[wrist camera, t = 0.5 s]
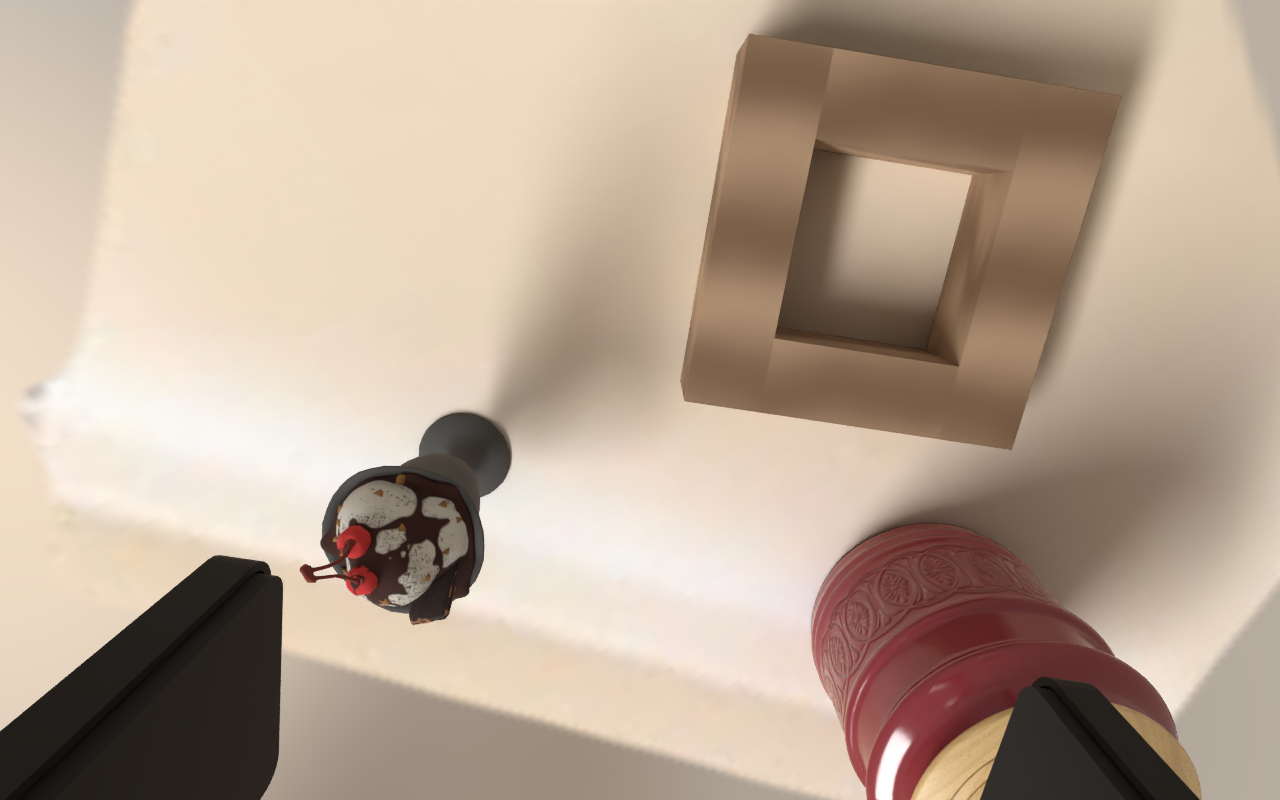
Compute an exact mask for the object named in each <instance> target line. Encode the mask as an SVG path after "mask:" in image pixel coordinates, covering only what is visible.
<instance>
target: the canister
mask: <svg viewBox="0 0 1280 800" xmlns="http://www.w3.org/2000/svg"><path fill="white" fill-rule="evenodd" d="M811 634H812V652H813V658H814V662H815V666H816V669H817V671H818V674H819V678H820V680H821V683H822V685H823V687H824V689H825V691H826V693H827V694H828V696H829V697H830V699H831V700H832V702H833V705H834V708H835V710H836V713H837V716H838V718H839V721H840V723H841V726H842V729H843V731H844V734H845V741H846V746H847V751H848V755H849V758H850V761H851V764H852V766H853V768H854V770H855V772H856V774H857V776H858V778H859V779H860V781H861V782H862V784H863V785H864V786H865V788H866V796H867V800H980V798H981V795H982V792H983V790H984V787H985V784H986V781H987V779H988V776H989V773H990V771H991V768H992V765H993V763H994V760H995V757H996V754H997V752H998V749H999V746H1000V744H1001V741H1002V738H1003V735H1004V733H1005V730H1006V727H1007V725H1008V722H1009V719H1010V716H1011V714H1012V711H1013V708H1014V706H1015V703H1016V700H1017V698H1018V695H1019V693H1020V692H1021V690H1022V689H1023V688H1025V687H1029V686H1032V684H1033V682H1034V681H1036V680H1037V679H1038V678H1041V677H1051V678H1057V679H1064V680H1071V681H1078V682H1085V683H1088V684H1091V685H1093V686H1094V687H1096V688H1097V689H1098V690H1099V691H1100V692H1101V693H1102V694H1103V695H1104V696H1105V697H1106V698H1107V699H1108V700H1109V702H1110V703H1111V704H1112V705H1113V706H1114V707H1115V708H1116V709H1117V710H1118V711H1119V712H1120V713H1121V715H1122V716H1123V717H1124V718H1125V719H1126V720H1127V721H1128V722H1129V723H1130V724H1131V725H1132V726H1133V728H1134V729H1135V730H1136V731H1137V732H1138V733H1139V734H1140V735H1141V736H1142V737H1143V738H1144V739H1145V741H1146V742H1147V743H1148V744H1149V745H1150V746H1151V747H1152V748H1153V749H1154V750H1155V751H1156V752H1157V754H1158V755H1159V756H1160V757H1161V758H1162V759H1163V760H1164V761H1165V762H1166V763H1167V764H1168V765H1169V767H1170V768H1171V769H1172V770H1173V771H1174V772H1175V773H1176V774H1177V775H1178V776H1179V777H1180V779H1181V780H1182V781H1183V782H1184V783H1185V784H1186V785H1187V786H1188V787H1189V788H1190V789H1191V790H1192V792H1193V793H1194V794H1195V795H1196V796H1197V797H1198V798H1199V799H1200V800H1201V789H1200V783H1199V779H1198V775H1197V772H1196V770H1195V767H1194V765H1193V763H1192V761H1191V759H1190V757H1189V756H1188V754H1187V752H1186V751H1185V750H1184V748H1183V747H1182V746H1181V744H1180V743H1179V742H1178V736H1177V731H1176V727H1175V724H1174V721H1173V718H1172V716H1171V713H1170V711H1169V709H1168V707H1167V705H1166V703H1165V702H1164V700H1163V699H1162V697H1161V695H1160V694H1159V693H1158V692H1157V690H1156V689H1155V688H1154V687H1153V685H1152V684H1151V683H1150V682H1149V681H1148V680H1147V679H1146V678H1145V677H1143V676H1142V675H1141V674H1140V673H1139V672H1138V671H1136V670H1135V669H1133V668H1132V667H1131V666H1129V665H1128V664H1126V663H1125V662H1123V661H1121V660H1120V659H1118V658H1116V657H1115V655H1114V654H1113V652H1112V650H1111V649H1110V647H1109V646H1108V645H1107V643H1106V642H1105V641H1104V639H1103V638H1102V637H1101V636H1100V635H1099V634H1098V633H1097V632H1096V631H1095V630H1094V629H1093V628H1092V627H1091V626H1090V625H1088V624H1087V623H1086V622H1084V621H1083V620H1082V619H1080V618H1079V617H1077V616H1076V615H1074V614H1072V613H1071V612H1069V611H1068V610H1067V609H1066V608H1065V607H1064V606H1062V605H1061V604H1060V603H1059V602H1058V601H1057V600H1056V599H1055V598H1054V597H1053V596H1052V595H1051V594H1050V593H1049V592H1048V591H1047V590H1046V589H1045V588H1044V587H1043V586H1042V585H1041V584H1040V582H1039V581H1038V579H1037V578H1036V576H1035V575H1034V574H1033V573H1032V571H1031V570H1030V569H1029V568H1028V567H1027V566H1026V565H1025V564H1024V563H1022V562H1021V561H1020V560H1019V559H1018V558H1017V557H1016V556H1015V555H1014V554H1012V553H1011V552H1010V551H1008V550H1007V549H1006V548H1004V547H1003V546H1001V545H999V544H998V543H996V542H994V541H992V540H990V539H988V538H985V537H984V536H982V535H980V534H978V533H975V532H973V531H970V530H968V529H965V528H961V527H957V526H953V525H947V524H937V523H924V524H913V525H907V526H902V527H898V528H894V529H891V530H888V531H885V532H883V533H880V534H878V535H876V536H874V537H872V538H870V539H868V540H866V541H865V542H863V543H861V544H860V545H858V546H857V547H856V548H854V549H853V550H852V551H850V552H849V553H848V554H847V555H846V556H845V557H843V558H842V559H841V560H840V561H839V562H838V564H837V565H836V566H835V567H834V568H833V569H832V571H831V572H830V573H829V575H828V576H827V578H826V579H825V581H824V583H823V585H822V586H821V588H820V591H819V593H818V595H817V598H816V601H815V604H814V608H813V613H812V621H811Z"/></svg>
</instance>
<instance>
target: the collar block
mask: <svg viewBox="0 0 1280 800" xmlns="http://www.w3.org/2000/svg"><path fill="white" fill-rule="evenodd" d="M1120 100H1121V96H1118V95H1112V94H1106V93H1100V92H1094V91H1088V90H1082V89H1076V88H1070V87H1064V86H1058V85H1052V84H1046V83H1040V82H1034V81H1028V80H1022V79H1016V78H1010V77H1004V76H998V75H992V74H986V73H980V72H975V71H969V70H963V69H957V68H951V67H945V66H939V65H933V64H927V63H921V62H915V61H909V60H903V59H897V58H891V57H885V56H879V55H873V54H867V53H861V52H855V51H849V50H843V49H837V48H831V47H825V46H819V45H813V44H808V43H802V42H796V41H790V40H784V39H778V38H772V37H766V36H760V35H754V34H749V35H748V37H747V38H746V40H745V41H744V43H743V45H742V46H741V48H740V50H739V51H738V53H737V57H736V62H735V68H734V74H733V80H732V86H731V91H730V97H729V103H728V109H727V114H726V120H725V126H724V132H723V138H722V143H721V149H720V155H719V161H718V166H717V172H716V178H715V184H714V190H713V195H712V201H711V207H710V213H709V219H708V224H707V230H706V236H705V242H704V247H703V253H702V259H701V265H700V271H699V276H698V282H697V288H696V294H695V299H694V305H693V311H692V317H691V323H690V328H689V334H688V340H687V346H686V352H685V357H684V363H683V369H682V375H681V380H680V381H681V386H682V391H683V396H684V401H687V402H694V403H700V404H707V405H714V406H720V407H727V408H734V409H741V410H747V411H754V412H761V413H767V414H774V415H781V416H788V417H794V418H801V419H808V420H814V421H821V422H828V423H835V424H841V425H848V426H855V427H861V428H868V429H875V430H881V431H888V432H895V433H902V434H908V435H915V436H922V437H928V438H935V439H942V440H949V441H955V442H962V443H969V444H975V445H982V446H989V447H996V448H1002V449H1009V450H1012V447H1013V444H1014V441H1015V438H1016V434H1017V431H1018V428H1019V425H1020V422H1021V418H1022V415H1023V412H1024V409H1025V405H1026V402H1027V399H1028V396H1029V393H1030V389H1031V386H1032V383H1033V380H1034V376H1035V373H1036V370H1037V367H1038V364H1039V360H1040V357H1041V354H1042V351H1043V347H1044V344H1045V341H1046V338H1047V335H1048V331H1049V328H1050V325H1051V322H1052V319H1053V315H1054V312H1055V309H1056V306H1057V302H1058V299H1059V296H1060V293H1061V290H1062V286H1063V283H1064V280H1065V277H1066V273H1067V270H1068V267H1069V264H1070V261H1071V257H1072V254H1073V251H1074V248H1075V244H1076V241H1077V238H1078V235H1079V232H1080V228H1081V225H1082V222H1083V219H1084V215H1085V212H1086V209H1087V206H1088V203H1089V199H1090V196H1091V193H1092V190H1093V187H1094V183H1095V180H1096V177H1097V174H1098V170H1099V167H1100V164H1101V161H1102V158H1103V154H1104V151H1105V148H1106V145H1107V141H1108V138H1109V135H1110V132H1111V129H1112V125H1113V122H1114V119H1115V116H1116V112H1117V109H1118V106H1119V103H1120ZM813 149H815V150H821V151H827V152H834V153H840V154H846V155H852V156H858V157H864V158H871V159H877V160H883V161H889V162H895V163H901V164H907V165H914V166H920V167H926V168H932V169H938V170H944V171H951V172H957V173H963V174H969V175H973V176H972V179H971V183H970V187H969V191H968V194H967V198H966V202H965V206H964V210H963V213H962V217H961V221H960V225H959V228H958V232H957V236H956V240H955V243H954V247H953V251H952V255H951V258H950V262H949V266H948V270H947V274H946V277H945V281H944V285H943V289H942V292H941V296H940V300H939V304H938V307H937V311H936V315H935V319H934V322H933V326H932V330H931V334H930V338H929V341H928V345H927V349H926V350H924V349H917V348H910V347H904V346H897V345H891V344H884V343H878V342H871V341H865V340H858V339H852V338H845V337H839V336H832V335H826V334H819V333H813V332H806V331H800V330H793V329H787V328H780V327H777V323H778V318H779V313H780V308H781V304H782V299H783V294H784V289H785V284H786V279H787V274H788V270H789V265H790V260H791V255H792V250H793V245H794V241H795V236H796V231H797V226H798V221H799V216H800V211H801V207H802V202H803V197H804V192H805V187H806V182H807V177H808V173H809V168H810V163H811V158H812V153H813Z"/></svg>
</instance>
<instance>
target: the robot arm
mask: <svg viewBox="0 0 1280 800" xmlns="http://www.w3.org/2000/svg"><path fill="white" fill-rule="evenodd" d="M282 607H283V583H282V580H281V578H280V577H278V576H273V575H271V570H270V568H269V565H268V564H267V563H265V562H263V561H256V560H249V559H242V558H235V557H229V556H222V555H217V556H213V557H212V558H210V559H208V560H207V561H206V562H205V563H203V564H202V565H201V566H200V567H199V568H197V569H196V570H195V571H194V572H193V573H191V574H190V575H189V576H188V577H186V578H185V579H184V580H183V581H182V582H180V583H179V584H178V585H177V586H176V587H174V588H173V589H172V590H171V591H170V592H168V593H167V594H166V595H165V596H163V597H162V598H161V599H160V600H159V601H157V602H156V603H155V604H154V605H153V606H151V607H150V608H149V609H148V610H147V611H145V612H144V613H143V614H142V615H140V616H139V617H138V618H137V619H136V620H134V621H133V622H132V623H131V624H130V625H128V626H127V627H126V628H125V629H124V630H122V631H121V632H120V633H119V634H118V635H116V636H115V637H114V638H113V639H112V640H110V641H109V642H108V643H107V644H105V645H104V646H103V647H102V648H101V649H99V650H98V651H97V652H96V653H95V654H93V655H92V656H91V657H90V658H89V659H87V660H86V661H85V662H84V663H82V664H81V665H80V666H79V667H78V668H76V669H75V670H74V671H73V672H71V673H70V674H69V675H68V676H67V677H65V678H64V679H63V680H62V681H61V682H59V683H58V684H57V685H56V686H55V687H53V688H52V689H51V690H50V691H48V692H47V693H46V694H45V695H44V696H42V697H41V698H40V699H39V700H38V701H36V702H35V703H34V704H33V705H32V706H30V707H29V708H28V709H27V710H25V711H24V712H23V713H22V714H21V715H20V716H19V717H17V718H16V719H15V720H13V721H12V722H11V723H10V724H9V725H8V726H6V727H5V728H4V729H2V730H1V731H0V800H260V799H261V797H262V796H263V794H264V793H265V791H266V790H267V788H268V786H269V784H270V782H271V780H272V777H273V775H274V772H275V769H276V765H277V761H278V755H279V723H280V685H281V646H282ZM980 800H1200V799H1199V798H1198V797H1197V796H1196V795H1195V794H1194V793H1193V792H1192V790H1191V789H1190V788H1189V787H1188V786H1187V785H1186V784H1185V783H1184V782H1183V781H1182V780H1181V779H1180V777H1179V776H1178V775H1177V774H1176V773H1175V772H1174V771H1173V770H1172V769H1171V768H1170V767H1169V765H1168V764H1167V763H1166V762H1165V761H1164V760H1163V759H1162V758H1161V757H1160V756H1159V755H1158V754H1157V752H1156V751H1155V750H1154V749H1153V748H1152V747H1151V746H1150V745H1149V744H1148V743H1147V742H1146V741H1145V739H1144V738H1143V737H1142V736H1141V735H1140V734H1139V733H1138V732H1137V731H1136V730H1135V729H1134V728H1133V726H1132V725H1131V724H1130V723H1129V722H1128V721H1127V720H1126V719H1125V718H1124V717H1123V716H1122V715H1121V713H1120V712H1119V711H1118V710H1117V709H1116V708H1115V707H1114V706H1113V705H1112V704H1111V703H1110V702H1109V700H1108V699H1107V698H1106V697H1105V696H1104V695H1103V694H1102V693H1101V692H1100V691H1099V690H1098V689H1097V688H1096V687H1094V686H1093V685H1091V684H1088V683H1085V682H1078V681H1071V680H1064V679H1057V678H1051V677H1041V678H1038V679H1037V680H1036V681H1034V682H1033V684H1032V686H1029V687H1025V688H1023V689H1022V690H1021V692H1020V693H1019V695H1018V698H1017V700H1016V703H1015V706H1014V708H1013V711H1012V714H1011V716H1010V719H1009V722H1008V725H1007V727H1006V730H1005V733H1004V735H1003V738H1002V741H1001V744H1000V746H999V749H998V752H997V754H996V757H995V760H994V763H993V765H992V768H991V771H990V773H989V776H988V779H987V781H986V784H985V787H984V790H983V792H982V795H981V798H980Z"/></svg>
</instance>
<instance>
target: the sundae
mask: <svg viewBox="0 0 1280 800" xmlns="http://www.w3.org/2000/svg"><path fill="white" fill-rule="evenodd" d="M509 460H510V459H509V450H508V447H507V444H506V442H505V440H504V438H503V436H502V434H501V433H500V432H499V431H498V430H497V429H496V428H495V427H494V426H493V425H492V424H491V423H490V422H488V421H486V420H484V419H482V418H480V417H477V416H474V415H469V414H453V415H449V416H446V417H443V418H441V419H439V420H437V421H436V422H435V423H433V424H432V425H431V426H430V427H429V428H428V429H427V430H426V432H425V434H424V436H423V438H422V440H421V443H420V446H419V457H417V458H414V459H412V460H409V461H407V462H406V463H404V464H402V465H401V466H381V467H376V468H371V469H367V470H364V471H361V472H358V473H356V474H355V475H353V476H351V477H350V478H349V479H347V480H346V481H345V482H344V483H343V484H342V485H341V486H340V487H339V489H338V490H337V491H336V493H335V494H334V495H333V497H332V499H331V501H330V503H329V505H328V507H327V510H326V513H325V517H324V520H323V523H322V539H321V543H320V545H321V547H322V549H323V550H324V552H325V554H326V556H327V558H328V560H329V562H330V564H328V565H325V566H321V567H316V568H312V567H311V566H308V565H307V564H304V565H303V566H302V567H300V572H301V573H302V575H303V576H304V578H305V580H306V581H307V582H308V583H315V582H316V581H317V580H319V579H327V578H334V577H337V578H341V579H344V580H345V581H346V585H347V588H348V589H349V590H350V591H351V592H352V593H353V594H354V595H361V596H362V597H363V598H365V599H366V600H367V601H369V602H372V603H373V604H375V605H377V606H379V607H382V608H384V609H386V610H389V611H391V612H399V613H406V614H407V613H409V617H410V621H411V624H413V625H414V624H423V623H429V622H433V621H435V620H442V619H445V618H446V617H447V616H448V615H449V612H450V608H451V604H452V601H454V600H455V599H457V598H462V597H465V596H467V595H468V594H469V588H470V587H471V586H472V584H473V583H474V582H475V581H476V579H477V577H478V575H479V573H480V570H481V567H482V564H483V561H484V532H483V528H482V524H481V521H480V517H479V509H480V497H482V496H485V495H487V494H490V493H491V492H492V491H494V490H495V489H496V488H497V487H498V486H499V485H500V484H501V483H502V482H503V480H504V478H505V476H506V474H507V472H508V469H509ZM330 567H333V568H334V569H335V571H336V572H337V573H338V574H336V575H326V576H314V575H313V572H315V571H319V570H323V569H326V568H330Z"/></svg>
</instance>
